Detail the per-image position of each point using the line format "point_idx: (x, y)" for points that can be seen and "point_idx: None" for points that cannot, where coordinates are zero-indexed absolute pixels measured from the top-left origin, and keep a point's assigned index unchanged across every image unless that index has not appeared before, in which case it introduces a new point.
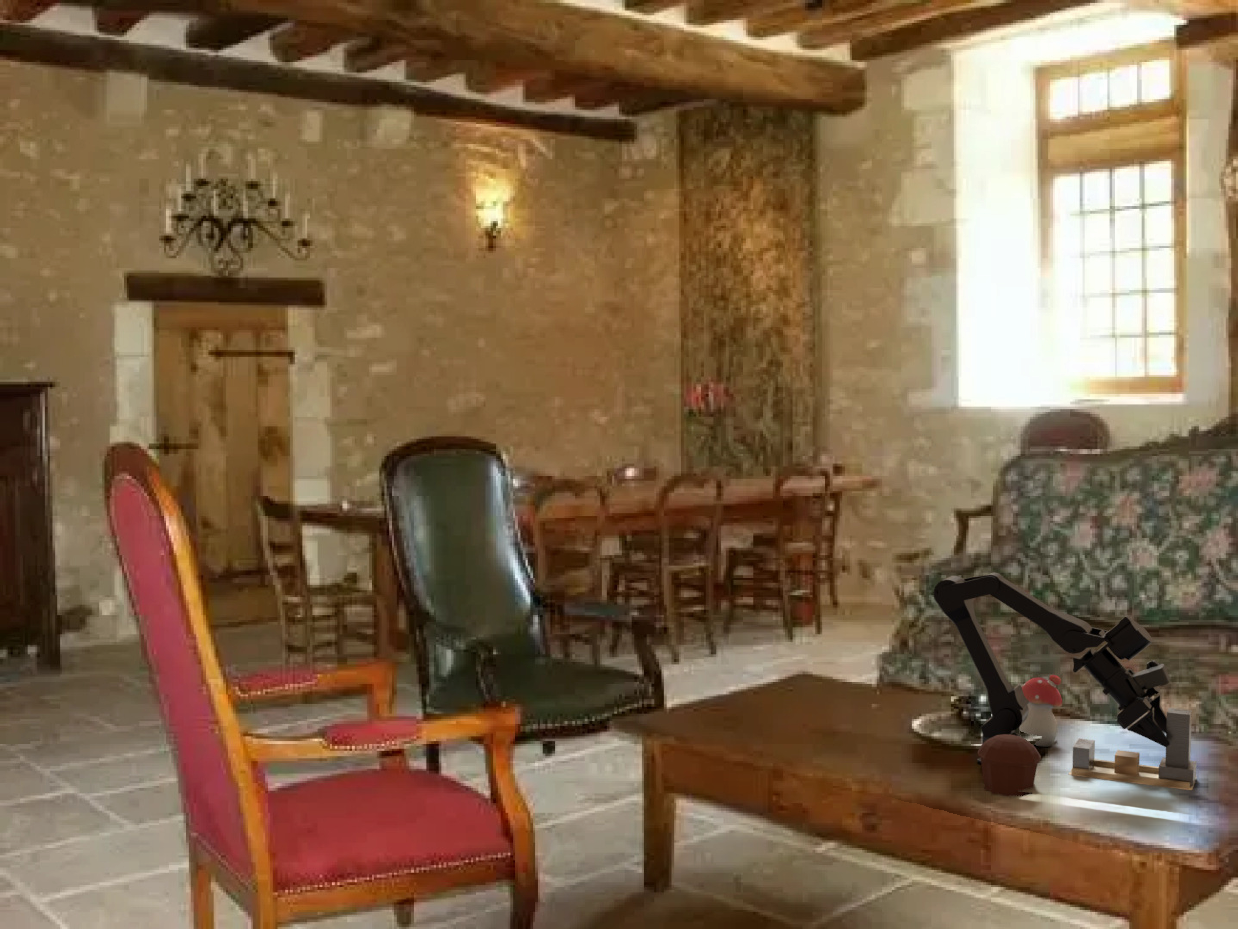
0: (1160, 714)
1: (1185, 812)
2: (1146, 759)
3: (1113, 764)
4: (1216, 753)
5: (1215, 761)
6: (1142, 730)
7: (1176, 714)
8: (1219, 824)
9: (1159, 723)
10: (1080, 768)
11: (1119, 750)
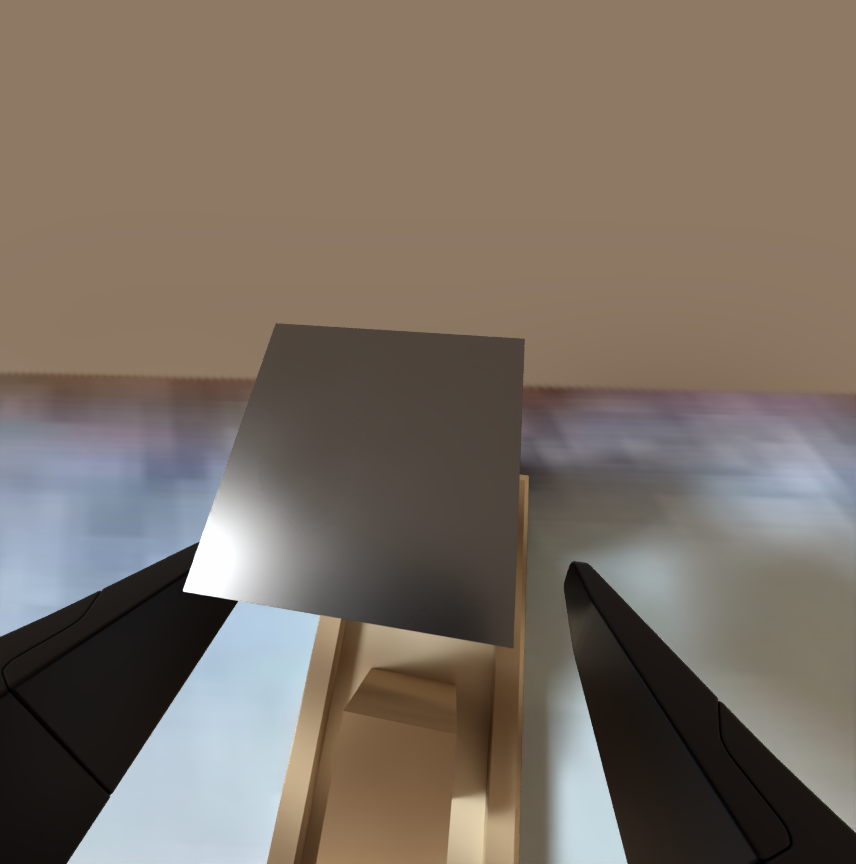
0: (100, 659)
1: (717, 504)
2: None
3: (306, 809)
4: (49, 401)
5: (129, 405)
6: None
7: (516, 495)
8: (782, 413)
9: (185, 640)
10: None
11: (320, 854)
